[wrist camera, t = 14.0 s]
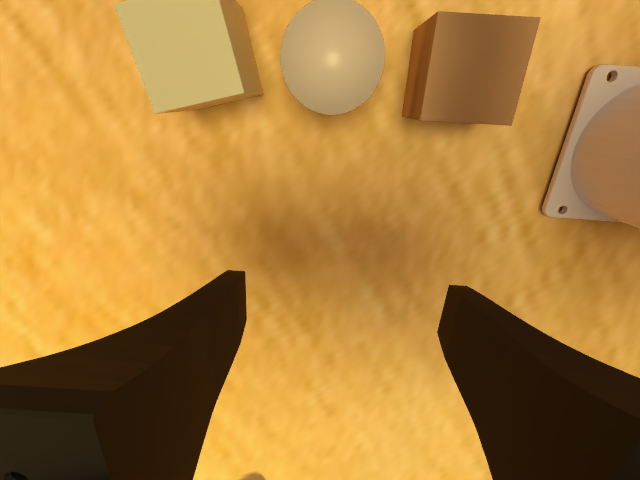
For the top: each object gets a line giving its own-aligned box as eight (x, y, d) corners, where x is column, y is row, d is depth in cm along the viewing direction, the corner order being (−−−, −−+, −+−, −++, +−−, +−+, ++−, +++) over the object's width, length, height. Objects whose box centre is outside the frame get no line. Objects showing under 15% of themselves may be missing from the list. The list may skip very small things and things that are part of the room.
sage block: (242, 7, 16) (212, -24, 12) (263, 94, 18) (244, 92, 14) (166, 27, 17) (113, 3, 13) (194, 110, 18) (154, 113, 14)
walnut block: (493, 35, 17) (540, 17, 13) (474, 120, 18) (511, 125, 14) (413, 30, 17) (438, 11, 13) (401, 115, 18) (420, 120, 14)
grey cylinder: (374, 26, 16) (392, -1, 12) (365, 112, 18) (377, 117, 13) (294, 21, 16) (281, -8, 12) (292, 108, 18) (279, 111, 13)
